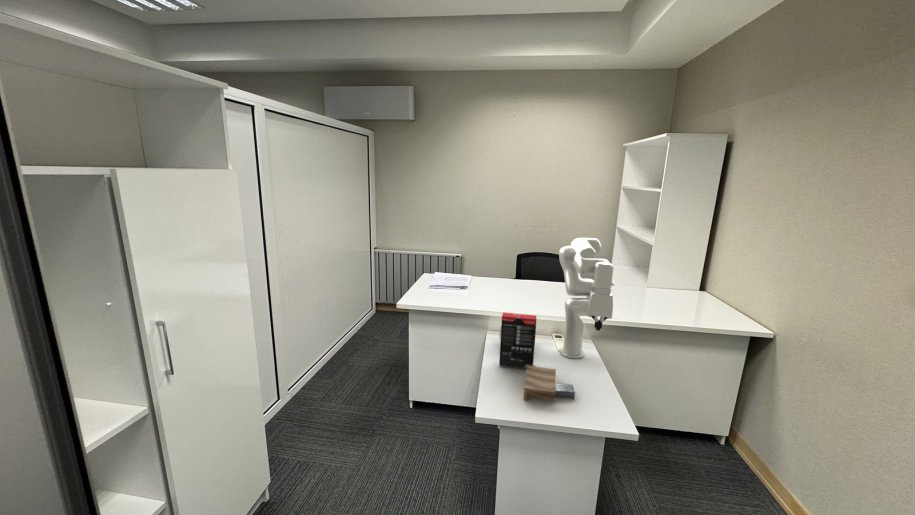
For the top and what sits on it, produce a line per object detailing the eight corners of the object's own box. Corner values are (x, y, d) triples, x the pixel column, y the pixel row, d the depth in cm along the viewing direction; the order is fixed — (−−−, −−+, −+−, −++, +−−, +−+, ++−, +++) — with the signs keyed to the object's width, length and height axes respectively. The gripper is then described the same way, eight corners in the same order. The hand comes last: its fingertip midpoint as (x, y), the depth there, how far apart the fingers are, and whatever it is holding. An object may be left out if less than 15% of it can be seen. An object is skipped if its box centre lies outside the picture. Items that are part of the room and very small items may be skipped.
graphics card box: (533, 364, 191) (536, 313, 186) (533, 370, 185) (536, 318, 179) (500, 360, 195) (502, 311, 189) (498, 367, 188) (501, 315, 182)
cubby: (526, 377, 179) (527, 365, 178) (554, 381, 176) (555, 369, 174) (523, 400, 160) (524, 387, 159) (554, 405, 157) (555, 392, 155)
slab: (572, 392, 167) (572, 384, 166) (574, 399, 161) (575, 392, 160) (535, 388, 169) (536, 381, 168) (536, 396, 163) (537, 388, 162)
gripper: (584, 291, 162) (581, 330, 166) (621, 294, 159) (616, 334, 162) (583, 286, 169) (579, 324, 173) (618, 289, 166) (614, 328, 170)
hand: (597, 329), depth 168 cm, fingers closed
